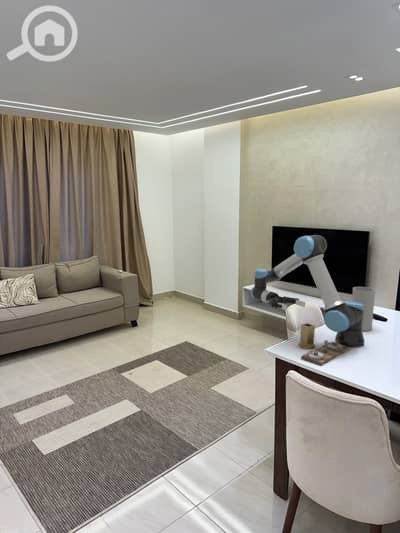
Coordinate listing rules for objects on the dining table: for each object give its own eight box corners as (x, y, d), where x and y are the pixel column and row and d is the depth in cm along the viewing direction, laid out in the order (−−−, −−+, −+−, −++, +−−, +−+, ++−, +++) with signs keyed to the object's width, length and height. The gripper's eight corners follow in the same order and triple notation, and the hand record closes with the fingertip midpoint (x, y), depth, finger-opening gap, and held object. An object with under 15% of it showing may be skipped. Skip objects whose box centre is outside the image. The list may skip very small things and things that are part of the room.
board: (328, 344, 204) (329, 331, 203) (348, 350, 196) (349, 337, 195) (301, 358, 185) (301, 344, 184) (321, 365, 177) (322, 351, 176)
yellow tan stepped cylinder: (306, 342, 207) (307, 321, 205) (318, 347, 200) (319, 326, 198) (295, 345, 203) (296, 324, 201) (306, 350, 196) (308, 328, 194)
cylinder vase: (352, 323, 240) (355, 285, 236) (373, 327, 233) (377, 288, 229) (347, 328, 230) (350, 289, 226) (369, 332, 223) (372, 292, 219)
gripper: (285, 301, 231) (311, 309, 213) (253, 306, 219) (278, 316, 201) (286, 289, 230) (312, 297, 212) (254, 294, 217) (279, 302, 199)
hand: (295, 306), depth 206 cm, fingers open, 13 cm apart
